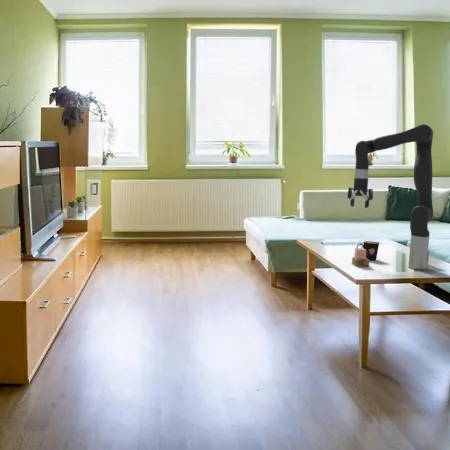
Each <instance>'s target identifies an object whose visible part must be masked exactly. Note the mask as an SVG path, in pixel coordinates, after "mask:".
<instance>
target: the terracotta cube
mask: <svg viewBox="0 0 450 450" xmlns="http://www.w3.org/2000/svg"><path fill="white" fill-rule="evenodd" d="M353 254H354V256H353V257H354V258H355V259H365V260H366V250H365V249H364V248H359V247H358V248H357V247H356V248H354V253H353Z"/></svg>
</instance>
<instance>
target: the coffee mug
mask: <svg viewBox="0 0 450 450" xmlns="http://www.w3.org/2000/svg"><path fill="white" fill-rule="evenodd" d="M358 246H362V247H363V248H362V249H365V250H366V258H367V259H369V260H370V261H371V262H373V261H377V257H378V252H379V247H380V242H379V241H372V240H371V241H370V240H365V241H363V244H362V243H359V244H357V245H356V248H359V247H358ZM370 261H369V262H370Z"/></svg>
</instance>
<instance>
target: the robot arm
mask: <svg viewBox="0 0 450 450" xmlns="http://www.w3.org/2000/svg"><path fill="white" fill-rule="evenodd" d="M433 138H434V130H433V129H432V127H431V126H430V125H427V124H424V123H423V124H419V125H417V126H415V127H412V128H410V129H407V130H404V131H400V132H397V133H391V134H387V135H384V136H383V135H382V136H378V137H376V138H374V139H370V140H360V141H358V142H357V143H356V145H355V170H354V174H353V176H354V177H353V187H348V190H347V199H349V200H350V201H349V204H350V207H355V199H356V198H357V197H362V198H364V200H365V201H364V208H366V209H367V208H369V207H370V201H373V199H374V189H373V188H368V187H369V175H370V174H369V173H370V172H369V169H370V167H369V166H370V162H369V161H370V160H369V154H370V153H371V154H372V153H374V152H377V151H382V150H388V149H392V148H394V147H397V146H399V145H400V146H401V145H404V144H407V143H415V145H416V155H415V160H414V166H413V183H414V187H415V190H416V193H417V206H415V207H413V208H412V209H411V212H410V219H409V224H410V225H409V229H410V243H409V256H408V257H409V258H408V268H410V269H413V270H428V269H429V262H430V261H429V260H430V251H429V247H430V246H429V245H430V244H429V243H430V236H431V235H430V231H429V228H428V224H429V222H430V221H432V220H433V217H434V206H433V157H432V144H433Z"/></svg>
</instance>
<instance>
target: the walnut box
mask: <svg viewBox="0 0 450 450" xmlns="http://www.w3.org/2000/svg"><path fill="white" fill-rule="evenodd" d="M351 265H352V266H354V267H356V268H357V267H359V268H362V267H363V268H369V267H370V261H369V259H367V258H366V260H365V259H355V258H354V256H353V257H352V259H351Z"/></svg>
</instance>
